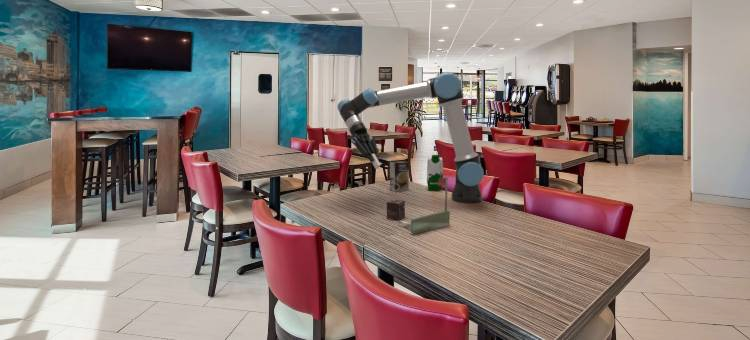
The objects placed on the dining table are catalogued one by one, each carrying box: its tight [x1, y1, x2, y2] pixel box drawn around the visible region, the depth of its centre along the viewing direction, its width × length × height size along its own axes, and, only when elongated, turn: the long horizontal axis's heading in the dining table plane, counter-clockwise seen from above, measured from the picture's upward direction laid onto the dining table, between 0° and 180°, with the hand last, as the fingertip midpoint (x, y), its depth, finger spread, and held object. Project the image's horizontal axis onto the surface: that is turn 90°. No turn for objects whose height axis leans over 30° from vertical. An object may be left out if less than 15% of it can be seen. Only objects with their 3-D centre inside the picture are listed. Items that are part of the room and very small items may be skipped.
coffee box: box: [389, 160, 410, 193], centre depth 244 cm, size 9×6×16 cm
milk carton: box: [426, 154, 444, 192], centre depth 245 cm, size 9×9×20 cm
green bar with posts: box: [398, 176, 451, 235], centre depth 176 cm, size 13×20×20 cm, turn 128°
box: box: [386, 199, 406, 221], centre depth 190 cm, size 6×6×7 cm
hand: (378, 166), depth 196 cm, fingers closed
